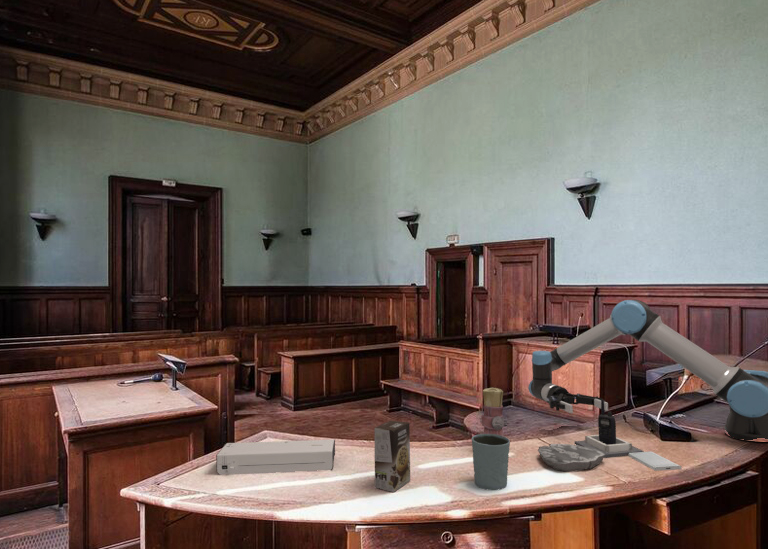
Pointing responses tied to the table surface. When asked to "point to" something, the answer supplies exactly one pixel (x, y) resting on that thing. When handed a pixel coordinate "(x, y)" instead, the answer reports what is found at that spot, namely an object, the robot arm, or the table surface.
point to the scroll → (492, 411)
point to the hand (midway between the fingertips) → (589, 408)
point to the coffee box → (392, 455)
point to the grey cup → (490, 460)
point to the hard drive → (654, 461)
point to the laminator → (275, 457)
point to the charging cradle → (609, 446)
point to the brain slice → (570, 457)
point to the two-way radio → (606, 427)
